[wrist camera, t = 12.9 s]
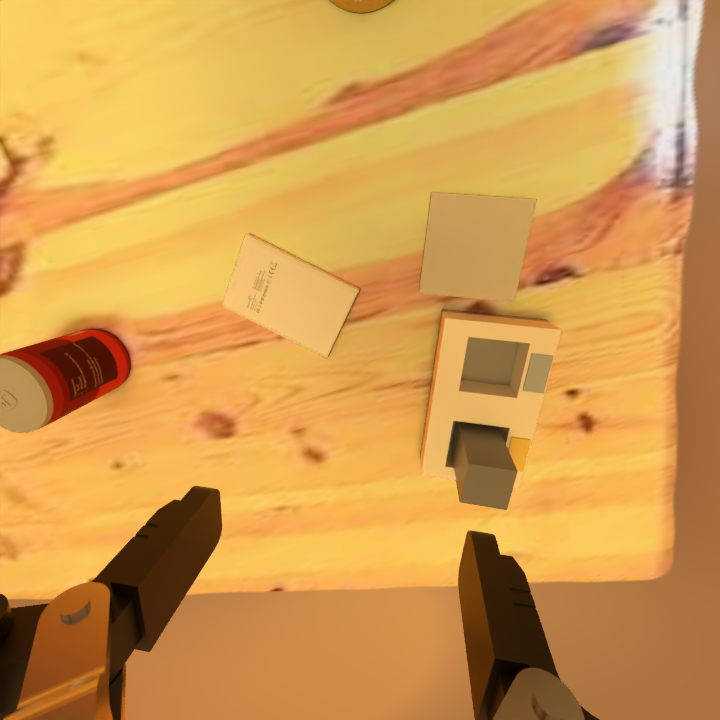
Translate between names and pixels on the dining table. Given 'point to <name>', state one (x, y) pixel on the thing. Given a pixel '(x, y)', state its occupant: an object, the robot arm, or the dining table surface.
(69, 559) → the dining table surface
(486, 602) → the robot arm
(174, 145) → the dining table surface
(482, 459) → the plug
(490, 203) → the mat
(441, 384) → the socket block
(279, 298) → the external hard drive
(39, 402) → the canned food
